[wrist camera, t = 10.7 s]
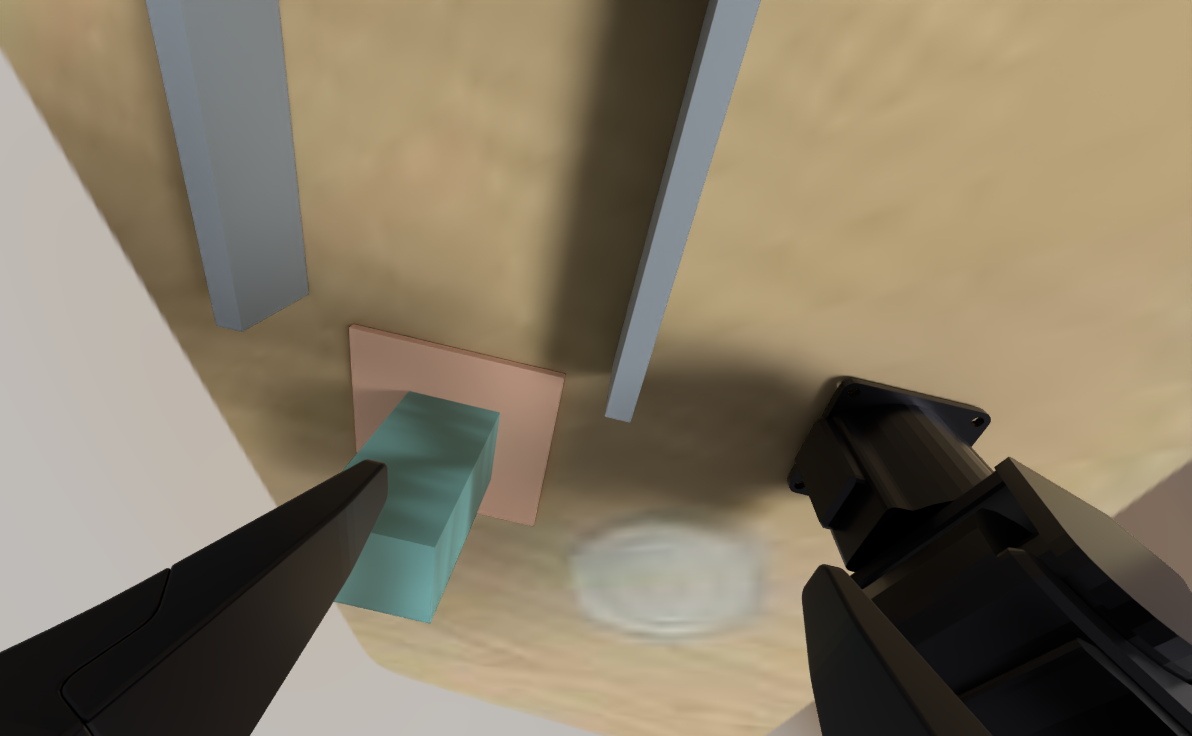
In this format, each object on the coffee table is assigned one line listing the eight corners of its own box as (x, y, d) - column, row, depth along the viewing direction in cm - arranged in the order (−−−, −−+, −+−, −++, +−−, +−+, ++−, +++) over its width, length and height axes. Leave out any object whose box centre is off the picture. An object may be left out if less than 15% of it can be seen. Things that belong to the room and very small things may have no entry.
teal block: (500, 412, 23) (435, 547, 16) (490, 479, 25) (429, 623, 18) (409, 390, 23) (304, 516, 16) (407, 460, 25) (315, 597, 18)
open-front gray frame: (771, -100, 14) (812, -167, 10) (633, 370, 22) (630, 422, 18) (219, -239, 13) (68, -357, 10) (287, 288, 21) (216, 325, 18)
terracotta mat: (565, 373, 22) (564, 378, 22) (534, 520, 27) (533, 526, 27) (353, 324, 22) (348, 327, 22) (362, 481, 27) (358, 486, 27)
